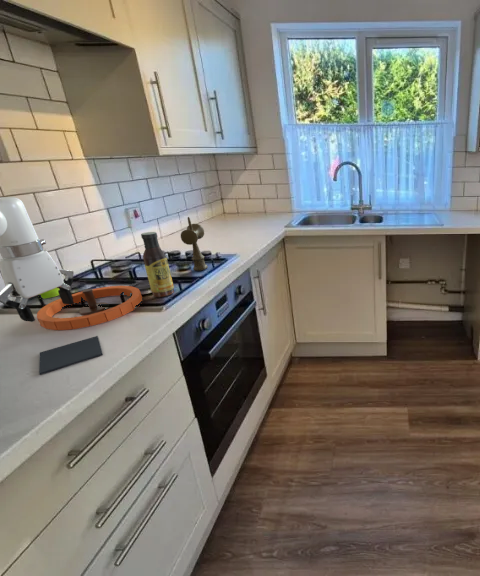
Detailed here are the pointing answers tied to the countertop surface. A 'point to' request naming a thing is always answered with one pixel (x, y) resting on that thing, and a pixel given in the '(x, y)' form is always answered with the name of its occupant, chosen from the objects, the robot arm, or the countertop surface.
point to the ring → (93, 319)
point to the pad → (69, 354)
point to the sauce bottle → (156, 266)
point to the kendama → (194, 244)
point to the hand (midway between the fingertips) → (50, 311)
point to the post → (91, 304)
